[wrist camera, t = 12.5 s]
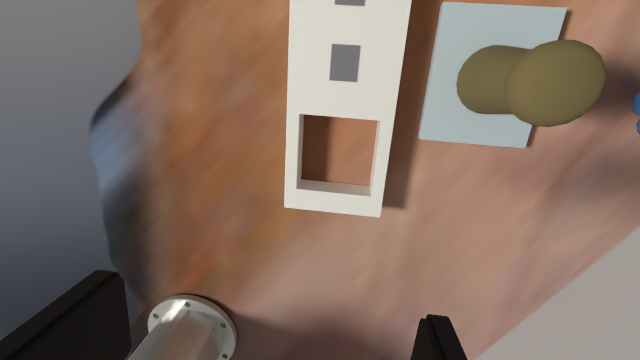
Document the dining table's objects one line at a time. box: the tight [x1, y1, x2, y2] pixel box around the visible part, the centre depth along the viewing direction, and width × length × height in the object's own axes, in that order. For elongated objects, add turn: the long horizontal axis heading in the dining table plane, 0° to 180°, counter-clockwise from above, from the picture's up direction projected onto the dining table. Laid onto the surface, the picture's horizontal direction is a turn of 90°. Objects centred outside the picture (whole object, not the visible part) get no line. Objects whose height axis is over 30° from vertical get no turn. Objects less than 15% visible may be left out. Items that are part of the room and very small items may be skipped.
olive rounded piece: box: [456, 39, 606, 127], centre depth 23 cm, size 6×6×11 cm
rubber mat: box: [418, 2, 567, 148], centre depth 28 cm, size 12×10×1 cm
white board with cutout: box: [284, 0, 412, 217], centre depth 29 cm, size 24×10×3 cm, turn 176°
